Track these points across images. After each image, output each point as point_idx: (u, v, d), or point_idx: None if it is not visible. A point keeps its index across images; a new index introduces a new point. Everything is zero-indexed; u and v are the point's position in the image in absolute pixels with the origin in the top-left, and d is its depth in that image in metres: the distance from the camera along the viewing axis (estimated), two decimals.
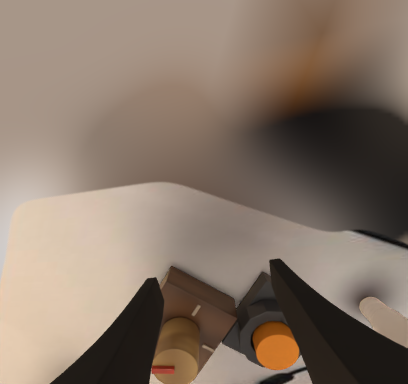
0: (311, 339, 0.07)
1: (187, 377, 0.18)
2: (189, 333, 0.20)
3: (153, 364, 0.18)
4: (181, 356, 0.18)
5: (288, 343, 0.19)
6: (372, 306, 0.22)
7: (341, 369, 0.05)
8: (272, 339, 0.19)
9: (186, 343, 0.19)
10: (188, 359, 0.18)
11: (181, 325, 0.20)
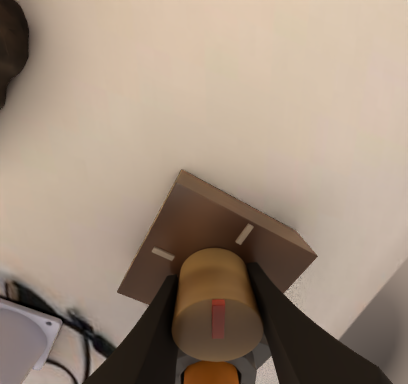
0: (276, 344, 0.07)
1: (196, 348, 0.09)
2: None
3: (226, 300, 0.08)
4: (246, 341, 0.09)
5: None
6: None
7: (293, 375, 0.06)
8: None
9: None
10: (238, 350, 0.10)
11: None
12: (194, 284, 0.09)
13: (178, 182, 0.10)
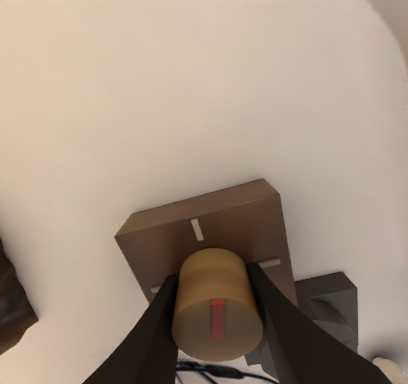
0: (275, 343, 0.07)
1: (196, 349, 0.09)
2: None
3: (225, 300, 0.08)
4: (246, 341, 0.09)
5: None
6: (399, 374, 0.18)
7: (292, 375, 0.06)
8: None
9: None
10: (239, 350, 0.10)
11: None
12: (193, 284, 0.09)
13: (116, 235, 0.12)
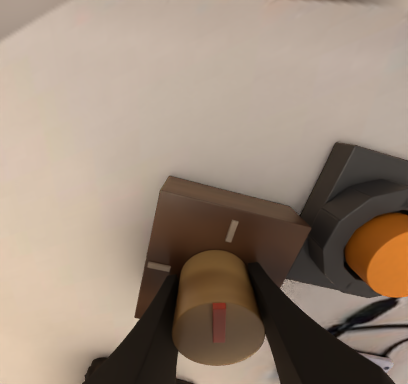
0: (277, 343, 0.07)
1: (197, 352, 0.09)
2: None
3: (227, 304, 0.08)
4: (247, 345, 0.09)
5: None
6: None
7: (294, 374, 0.06)
8: (400, 243, 0.09)
9: None
10: (240, 354, 0.09)
11: None
12: (194, 287, 0.09)
13: None
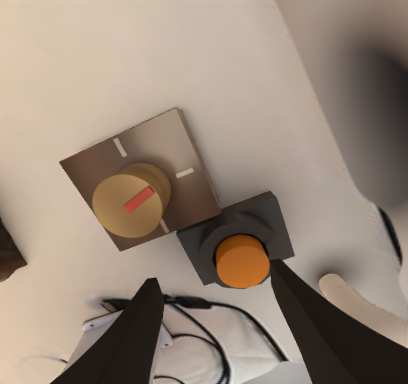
0: (311, 339, 0.07)
1: (103, 206, 0.12)
2: None
3: (155, 193, 0.12)
4: (135, 229, 0.13)
5: (261, 265, 0.16)
6: (339, 281, 0.20)
7: (341, 369, 0.05)
8: (250, 251, 0.15)
9: None
10: (125, 230, 0.13)
11: None
12: (142, 172, 0.12)
13: (60, 161, 0.15)
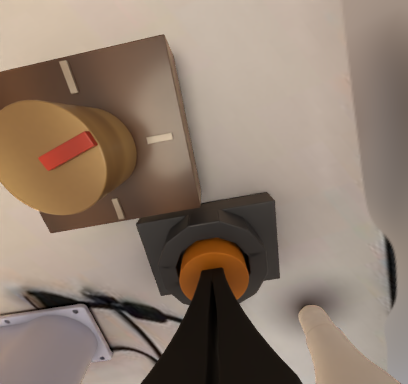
0: None
1: (4, 151, 0.07)
2: None
3: (98, 148, 0.07)
4: (58, 201, 0.08)
5: (239, 281, 0.12)
6: (323, 317, 0.17)
7: None
8: (227, 261, 0.11)
9: None
10: (40, 201, 0.08)
11: None
12: (86, 113, 0.08)
13: None
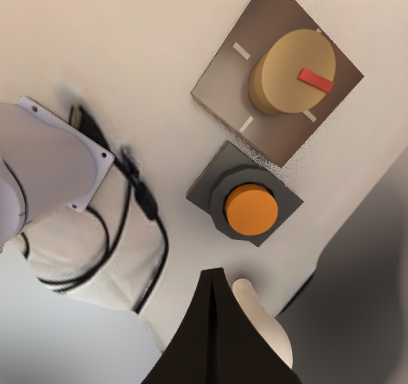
0: None
1: (291, 46, 0.11)
2: (257, 100, 0.14)
3: (323, 94, 0.12)
4: (277, 93, 0.12)
5: (263, 225, 0.17)
6: (253, 289, 0.23)
7: None
8: (272, 209, 0.16)
9: (263, 101, 0.13)
10: (270, 83, 0.12)
11: (264, 110, 0.14)
12: None
13: None
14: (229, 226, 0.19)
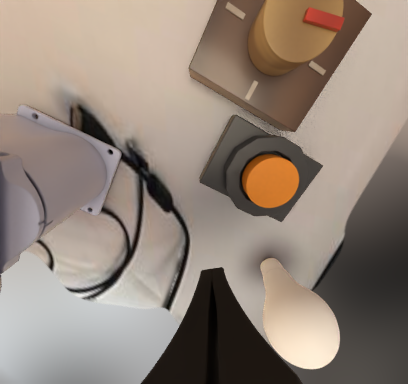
0: None
1: None
2: (261, 59, 0.13)
3: (334, 34, 0.11)
4: (283, 42, 0.11)
5: (285, 194, 0.16)
6: (282, 267, 0.23)
7: None
8: (292, 175, 0.16)
9: (269, 56, 0.12)
10: (274, 32, 0.11)
11: (269, 70, 0.14)
12: None
13: None
14: (249, 203, 0.18)
